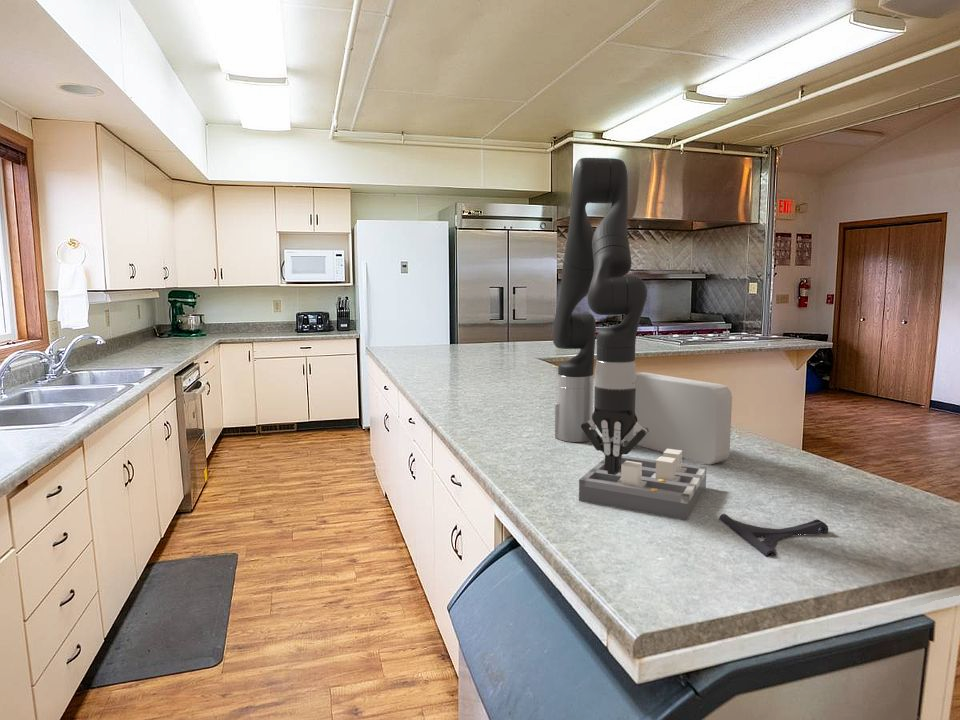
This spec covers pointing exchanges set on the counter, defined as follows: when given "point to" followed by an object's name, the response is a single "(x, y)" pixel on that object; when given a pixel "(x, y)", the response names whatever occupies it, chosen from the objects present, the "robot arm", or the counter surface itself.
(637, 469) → the switch front
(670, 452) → the switch back
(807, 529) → the bracket
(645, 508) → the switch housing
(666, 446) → the grey block
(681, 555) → the counter surface
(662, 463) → the switch middle
